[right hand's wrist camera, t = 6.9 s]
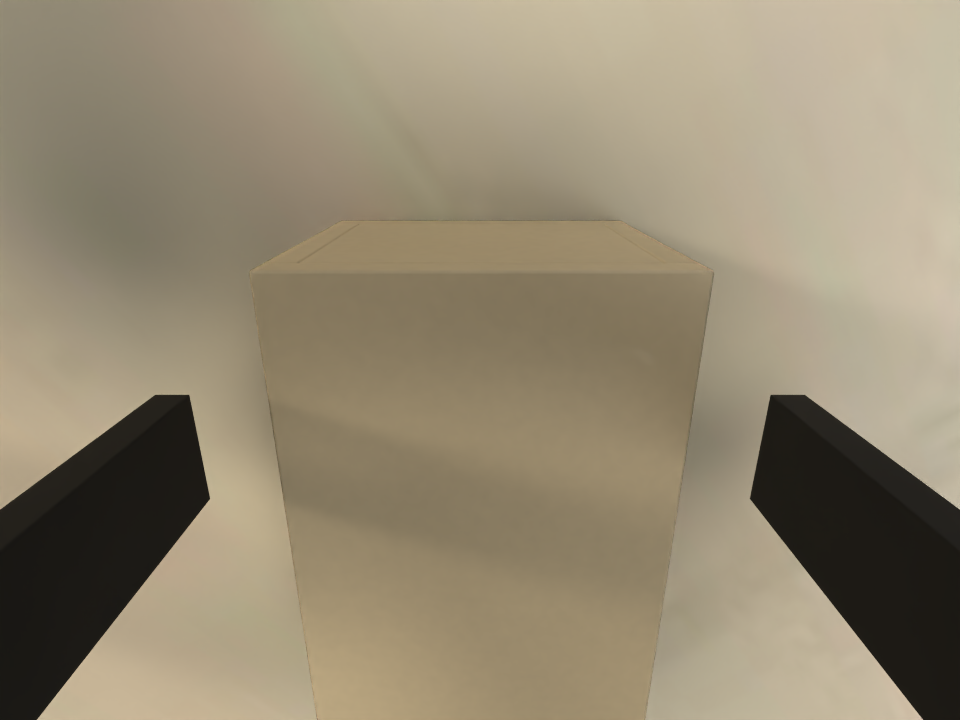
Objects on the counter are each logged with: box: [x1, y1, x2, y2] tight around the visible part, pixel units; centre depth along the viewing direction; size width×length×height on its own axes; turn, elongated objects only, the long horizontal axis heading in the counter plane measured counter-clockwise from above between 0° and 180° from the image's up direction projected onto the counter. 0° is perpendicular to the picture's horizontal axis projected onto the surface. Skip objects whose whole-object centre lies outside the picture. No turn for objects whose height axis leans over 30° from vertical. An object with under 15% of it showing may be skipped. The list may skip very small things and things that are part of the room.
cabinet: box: [249, 221, 714, 720], centre depth 20 cm, size 20×10×9 cm, turn 0°
